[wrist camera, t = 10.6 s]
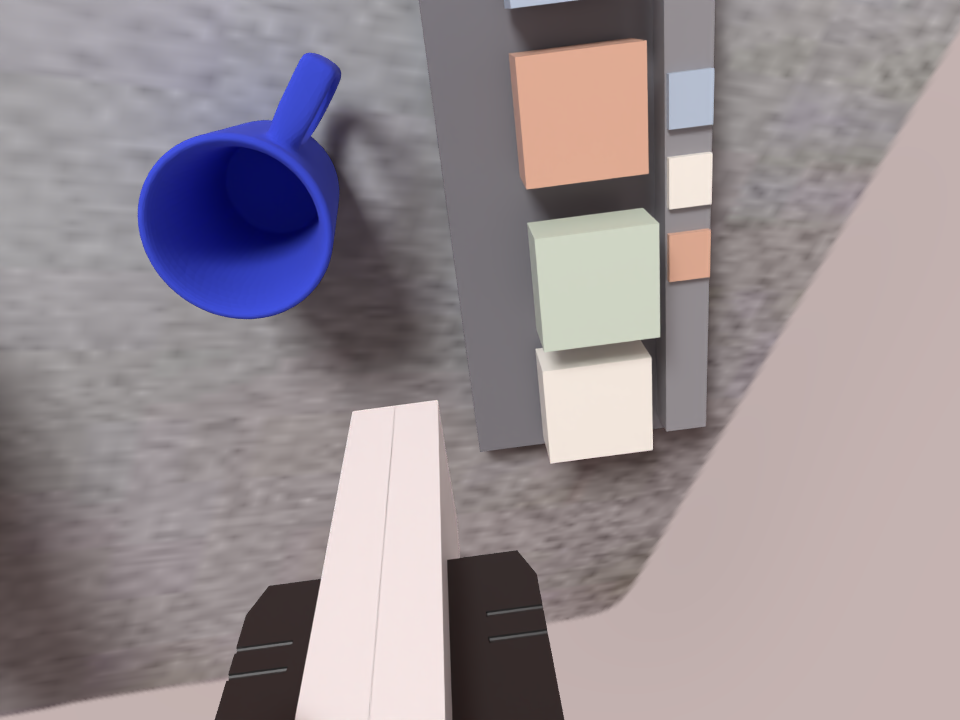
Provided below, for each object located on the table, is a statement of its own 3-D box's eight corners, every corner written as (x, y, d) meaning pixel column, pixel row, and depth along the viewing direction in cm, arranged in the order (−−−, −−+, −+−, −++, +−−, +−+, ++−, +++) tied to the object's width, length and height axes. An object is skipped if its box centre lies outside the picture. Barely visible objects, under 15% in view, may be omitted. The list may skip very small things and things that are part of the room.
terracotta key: (519, 176, 39) (526, 189, 36) (508, 53, 36) (515, 57, 33) (633, 161, 39) (648, 173, 36) (630, 37, 36) (646, 40, 33)
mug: (414, 91, 39) (410, 117, 30) (313, 278, 43) (283, 350, 34) (270, 2, 37) (218, 0, 28) (178, 208, 41) (108, 265, 32)
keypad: (478, 435, 49) (482, 473, 45) (399, -146, 35) (395, -165, 31) (689, 407, 49) (712, 443, 45) (695, -184, 35) (729, -208, 31)
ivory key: (543, 436, 46) (550, 463, 43) (535, 348, 43) (542, 371, 40) (639, 423, 46) (652, 450, 43) (637, 335, 43) (651, 357, 40)
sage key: (536, 329, 41) (544, 352, 38) (527, 222, 38) (534, 239, 35) (644, 315, 41) (660, 337, 38) (642, 207, 38) (659, 223, 35)
